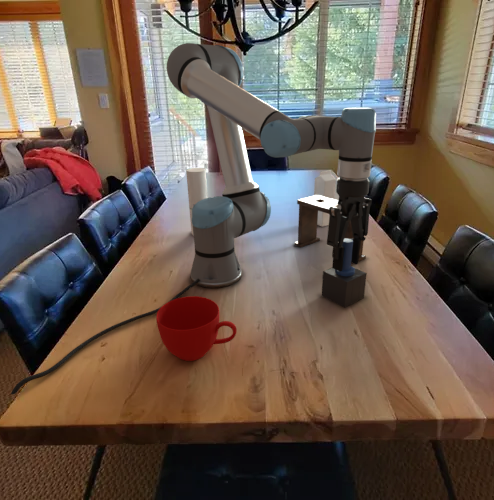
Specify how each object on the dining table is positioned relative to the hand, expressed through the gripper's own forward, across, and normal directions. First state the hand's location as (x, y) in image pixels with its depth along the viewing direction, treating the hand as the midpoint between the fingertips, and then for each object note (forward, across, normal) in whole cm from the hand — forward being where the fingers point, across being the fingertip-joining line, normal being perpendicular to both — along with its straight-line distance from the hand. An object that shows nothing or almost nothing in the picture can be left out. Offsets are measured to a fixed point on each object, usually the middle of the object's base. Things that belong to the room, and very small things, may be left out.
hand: (345, 265), depth 97 cm
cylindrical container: (+10, -5, +67) cm, 68 cm away
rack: (+9, +20, +23) cm, 32 cm away
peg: (+2, 0, 0) cm, 2 cm away
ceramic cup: (+10, -42, +4) cm, 43 cm away
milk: (+10, +40, +44) cm, 60 cm away
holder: (+9, 0, 0) cm, 9 cm away
